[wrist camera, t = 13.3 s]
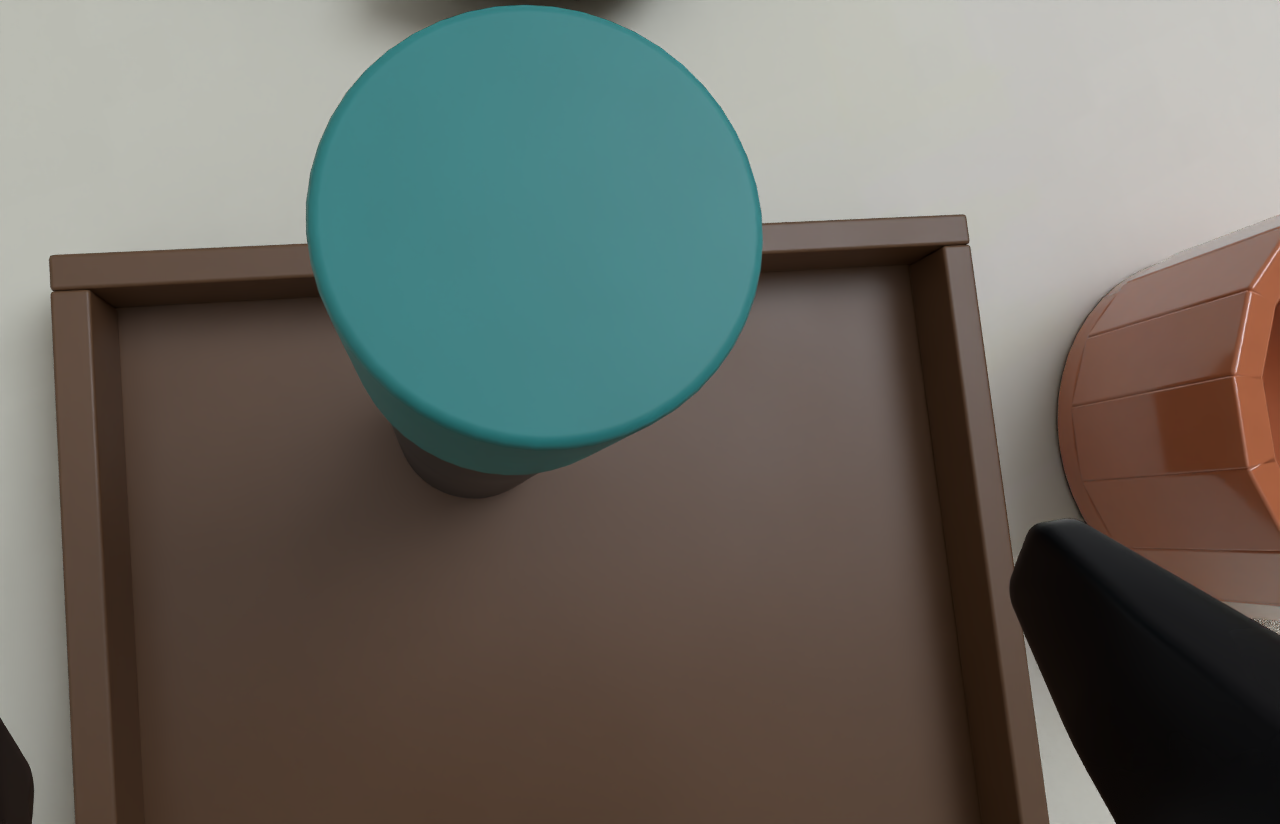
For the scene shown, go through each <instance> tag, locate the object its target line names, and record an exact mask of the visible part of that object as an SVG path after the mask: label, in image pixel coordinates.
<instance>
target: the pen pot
mask: <svg viewBox="0 0 1280 824" xmlns="http://www.w3.org/2000/svg"><path fill="white" fill-rule="evenodd" d="M1057 425H1058V437H1059V447H1060V452H1061V457H1062V462H1063V467H1064V471H1065V474H1066V477H1067V481H1068V484H1069V487H1070V490H1071V493H1072V495H1073V497H1074V499H1075V502H1076V504H1077V506H1078V508H1079V510H1080V512H1081V515H1082V516H1083V518H1084V520H1085V521H1086V523H1087V525H1089V526H1091V527H1093V528H1094V529H1096V530H1098V531H1100V532H1101V533H1103V534H1105V535H1107V536H1108V537H1110V538H1112V539H1114V540H1115V541H1117V542H1119V543H1120V544H1122V545H1124V546H1126V547H1127V548H1129V549H1131V550H1133V551H1134V552H1136V553H1138V554H1140V555H1141V556H1143V557H1145V558H1147V559H1148V560H1150V561H1152V562H1153V563H1155V564H1157V565H1159V566H1160V567H1162V568H1164V569H1166V570H1167V571H1169V572H1171V573H1173V574H1174V575H1176V576H1178V577H1180V578H1181V579H1183V580H1185V581H1186V582H1188V583H1190V584H1192V585H1193V586H1195V587H1197V588H1199V589H1200V590H1202V591H1204V592H1206V593H1207V594H1209V595H1211V596H1213V597H1214V598H1216V599H1218V600H1219V601H1221V602H1223V603H1225V604H1226V605H1228V606H1230V607H1232V608H1233V609H1235V610H1237V611H1239V612H1240V613H1242V614H1244V615H1246V616H1247V617H1249V618H1255V619H1264V620H1274V621H1280V215H1277V216H1274V217H1272V218H1269V219H1266V220H1264V221H1261V222H1259V223H1256V224H1253V225H1251V226H1248V227H1245V228H1243V229H1240V230H1237V231H1235V232H1232V233H1229V234H1227V235H1224V236H1221V237H1219V238H1216V239H1213V240H1211V241H1208V242H1206V243H1203V244H1200V245H1198V246H1195V247H1192V248H1190V249H1187V250H1184V251H1182V252H1179V253H1177V254H1175V255H1173V256H1171V257H1170V258H1168V259H1166V260H1164V261H1162V262H1160V263H1157V264H1155V265H1152V266H1150V267H1148V268H1146V269H1143V270H1141V271H1139V272H1137V273H1135V274H1133V275H1132V276H1130V277H1129V278H1127V279H1126V280H1124V281H1123V282H1121V283H1120V284H1118V285H1117V286H1116V287H1115V288H1114V289H1112V290H1111V291H1110V292H1109V293H1108V294H1107V295H1106V296H1105V297H1104V298H1103V299H1102V300H1101V301H1100V302H1099V303H1098V305H1097V306H1096V307H1095V308H1094V309H1093V311H1092V312H1091V313H1090V314H1089V316H1088V317H1087V319H1086V320H1085V322H1084V324H1083V325H1082V327H1081V329H1080V330H1079V332H1078V334H1077V335H1076V338H1075V340H1074V342H1073V345H1072V347H1071V349H1070V351H1069V354H1068V357H1067V360H1066V364H1065V367H1064V370H1063V374H1062V378H1061V384H1060V391H1059V397H1058V418H1057Z"/></svg>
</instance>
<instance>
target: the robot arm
mask: <svg viewBox="0 0 1280 824" xmlns="http://www.w3.org/2000/svg"><path fill="white" fill-rule="evenodd" d="M1009 593H1010V599H1011V603H1012V606H1013V609H1014V611H1015V613H1016V616H1017V618H1018V620H1019V623H1020V625H1021V627H1022V630H1023V632H1024V634H1025V637H1026V639H1027V641H1028V644H1029V646H1030V648H1031V651H1032V653H1033V655H1034V657H1035V660H1036V662H1037V664H1038V667H1039V669H1040V671H1041V674H1042V676H1043V678H1044V681H1045V683H1046V685H1047V688H1048V690H1049V692H1050V694H1051V697H1052V699H1053V701H1054V704H1055V706H1056V708H1057V711H1058V713H1059V715H1060V718H1061V720H1062V722H1063V724H1064V727H1065V729H1066V731H1067V733H1068V735H1069V737H1070V739H1071V741H1072V744H1073V746H1074V748H1075V749H1076V751H1077V753H1078V755H1079V757H1080V759H1081V761H1082V763H1083V765H1084V766H1085V768H1086V770H1087V772H1088V774H1089V776H1090V777H1091V779H1092V781H1093V783H1094V784H1095V786H1096V788H1097V790H1098V792H1099V793H1100V795H1101V797H1102V799H1103V801H1104V802H1105V804H1106V806H1107V808H1108V810H1109V811H1110V813H1111V815H1112V817H1113V818H1114V820H1115V822H1116V824H1280V635H1279V634H1277V633H1275V632H1273V631H1272V630H1270V629H1268V628H1266V627H1265V626H1263V625H1261V624H1259V623H1258V622H1256V621H1254V620H1252V619H1251V618H1249V617H1247V616H1246V615H1244V614H1242V613H1240V612H1239V611H1237V610H1235V609H1233V608H1232V607H1230V606H1228V605H1226V604H1225V603H1223V602H1221V601H1219V600H1218V599H1216V598H1214V597H1213V596H1211V595H1209V594H1207V593H1206V592H1204V591H1202V590H1200V589H1199V588H1197V587H1195V586H1193V585H1192V584H1190V583H1188V582H1186V581H1185V580H1183V579H1181V578H1180V577H1178V576H1176V575H1174V574H1173V573H1171V572H1169V571H1167V570H1166V569H1164V568H1162V567H1160V566H1159V565H1157V564H1155V563H1153V562H1152V561H1150V560H1148V559H1147V558H1145V557H1143V556H1141V555H1140V554H1138V553H1136V552H1134V551H1133V550H1131V549H1129V548H1127V547H1126V546H1124V545H1122V544H1120V543H1119V542H1117V541H1115V540H1114V539H1112V538H1110V537H1108V536H1107V535H1105V534H1103V533H1101V532H1100V531H1098V530H1096V529H1094V528H1093V527H1091V526H1089V525H1087V524H1086V523H1084V522H1082V521H1080V520H1076V519H1071V518H1067V519H1060V520H1054V521H1048V522H1043V523H1038V524H1036V525H1034V526H1033V527H1032V528H1031V529H1030V530H1029V532H1028V533H1027V535H1026V538H1025V541H1024V543H1023V546H1022V549H1021V551H1020V554H1019V557H1018V559H1017V562H1016V565H1015V567H1014V570H1013V573H1012V575H1011V578H1010V583H1009ZM33 801H34V783H33V777H32V772H31V769H30V767H29V764H28V762H27V761H26V759H25V757H24V756H23V754H22V752H21V751H20V749H19V748H18V746H17V744H16V743H15V741H14V739H13V738H12V736H11V735H10V733H9V731H8V730H7V728H6V726H5V725H4V723H3V721H2V720H1V718H0V824H32V815H33Z"/></svg>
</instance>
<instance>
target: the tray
mask: <svg viewBox="0 0 1280 824" xmlns="http://www.w3.org/2000/svg"><path fill="white" fill-rule="evenodd" d="M762 232H763V248H762V261H761V271H760V276H759V281H758V285H757V290H756V295H755V298H754V301H753V304H752V307H751V310H750V313H749V315H748V318H747V321H746V324H745V325H744V327H743V329H742V331H741V333H740V335H739V337H738V339H737V341H736V343H735V345H734V347H733V349H732V350H731V351H730V353H729V354H728V356H727V357H726V359H725V360H724V361H723V363H722V364H721V366H720V367H719V369H718V370H717V371H716V372H715V373H714V374H713V376H712V377H711V378H710V379H709V380H708V381H707V382H706V383H705V384H704V385H703V386H702V388H701V389H700V390H699V391H698V392H697V393H695V394H694V395H693V396H692V397H691V398H689V399H688V400H687V401H686V402H684V403H683V404H682V405H681V406H680V407H678V408H677V409H676V410H674V411H673V412H671V413H670V414H668V415H666V416H665V417H663V418H662V419H660V420H658V421H657V422H655V423H654V424H652V425H650V426H648V427H646V428H644V429H642V430H640V431H638V432H636V433H634V434H632V435H630V436H628V437H626V438H624V439H622V440H620V441H618V442H616V443H614V444H612V445H610V446H608V447H606V448H604V449H602V450H600V451H598V452H596V453H594V454H592V455H590V456H588V457H586V458H584V459H582V460H579V461H577V462H575V463H573V464H570V465H568V466H564V467H561V468H558V469H554V470H551V471H546V472H540V473H538V474H536V475H534V476H533V477H531V478H529V479H527V480H526V481H524V482H522V483H521V484H519V485H517V486H515V487H514V488H512V489H510V490H508V491H506V492H504V493H501V494H498V495H495V496H492V497H485V498H461V497H457V496H453V495H449V494H447V493H444V492H442V491H440V490H438V489H436V488H434V487H432V486H431V485H429V484H428V483H427V482H425V481H424V480H423V479H422V478H421V477H420V476H419V475H418V474H417V473H416V472H415V471H414V470H413V468H412V467H411V466H410V464H409V463H408V461H407V459H406V458H405V456H404V454H403V451H402V449H401V447H400V444H399V442H398V439H397V437H396V435H395V432H394V430H393V427H392V425H391V423H390V422H389V421H388V420H387V419H386V417H385V416H384V415H383V414H382V413H381V411H380V410H379V409H378V408H377V406H376V405H375V404H374V402H373V401H372V399H371V397H370V396H369V394H368V392H367V391H366V389H365V388H364V386H363V384H362V382H361V380H360V378H359V376H358V374H357V372H356V370H355V368H354V366H353V364H352V362H351V360H350V358H349V356H348V354H347V352H346V350H345V348H344V346H343V344H342V342H341V340H340V338H339V336H338V334H337V331H336V329H335V327H334V325H333V323H332V321H331V319H330V317H329V315H328V312H327V310H326V308H325V306H324V303H323V301H322V299H321V296H320V294H319V291H318V288H317V284H316V281H315V277H314V274H313V270H312V267H311V263H310V256H309V249H308V244H288V245H266V246H243V247H221V248H198V249H176V250H153V251H131V252H108V253H86V254H64V255H52V256H50V258H49V267H50V287H51V289H52V291H54V292H52V293H51V314H52V336H53V357H54V379H55V400H56V422H57V443H58V464H59V486H60V507H61V529H62V550H63V571H64V593H65V614H66V636H67V657H68V679H69V700H70V721H71V743H72V764H73V786H74V807H75V824H1049V817H1048V810H1047V802H1046V795H1045V788H1044V780H1043V773H1042V766H1041V759H1040V751H1039V744H1038V737H1037V729H1036V722H1035V715H1034V708H1033V700H1032V693H1031V686H1030V679H1029V671H1028V664H1027V657H1026V649H1025V642H1024V635H1023V630H1022V627H1021V625H1020V623H1019V620H1018V618H1017V616H1016V613H1015V611H1014V609H1013V606H1012V603H1011V599H1010V593H1009V583H1010V578H1011V575H1012V573H1013V570H1014V562H1013V555H1012V548H1011V540H1010V533H1009V526H1008V519H1007V511H1006V504H1005V497H1004V489H1003V482H1002V475H1001V468H1000V460H999V453H998V446H997V439H996V431H995V424H994V417H993V409H992V402H991V395H990V388H989V380H988V373H987V366H986V358H985V351H984V344H983V337H982V329H981V322H980V315H979V308H978V300H977V293H976V286H975V278H974V271H973V264H972V257H971V249H970V246H969V245H966V244H968V243H969V234H968V227H967V220H966V216H965V215H940V216H917V217H895V218H872V219H850V220H827V221H805V222H782V223H762Z"/></svg>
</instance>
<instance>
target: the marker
mask: <svg viewBox="0 0 1280 824" xmlns="http://www.w3.org/2000/svg"><path fill="white" fill-rule="evenodd" d="M306 235H307V242H308V249H309V256H310V263H311V267H312V270H313V274H314V277H315V281H316V284H317V288H318V291H319V294H320V296H321V299H322V301H323V303H324V306H325V308H326V310H327V312H328V315H329V317H330V319H331V321H332V323H333V325H334V327H335V329H336V331H337V334H338V336H339V338H340V340H341V342H342V344H343V346H344V348H345V350H346V352H347V354H348V356H349V358H350V360H351V362H352V364H353V366H354V368H355V370H356V372H357V374H358V376H359V378H360V380H361V382H362V384H363V386H364V388H365V389H366V391H367V392H368V394H369V396H370V397H371V399H372V401H373V402H374V404H375V405H376V406H377V408H378V409H379V410H380V411H381V413H382V414H383V415H384V416H385V417H386V419H387V420H388V421H389V422H390V423H391V425H392V427H393V430H394V432H395V435H396V437H397V439H398V442H399V444H400V447H401V449H402V451H403V454H404V456H405V458H406V459H407V461H408V463H409V464H410V466H411V467H412V468H413V470H414V471H415V472H416V473H417V474H418V475H419V476H420V477H421V478H422V479H423V480H424V481H425V482H427V483H428V484H429V485H431V486H432V487H434V488H436V489H438V490H440V491H442V492H444V493H447V494H449V495H453V496H457V497H461V498H485V497H492V496H495V495H498V494H501V493H504V492H506V491H508V490H510V489H512V488H514V487H515V486H517V485H519V484H521V483H522V482H524V481H526V480H527V479H529V478H531V477H533V476H534V475H536V474H538V473H540V472H546V471H551V470H554V469H558V468H561V467H564V466H568V465H570V464H573V463H575V462H577V461H579V460H582V459H584V458H586V457H588V456H590V455H592V454H594V453H596V452H598V451H600V450H602V449H604V448H606V447H608V446H610V445H612V444H614V443H616V442H618V441H620V440H622V439H624V438H626V437H628V436H630V435H632V434H634V433H636V432H638V431H640V430H642V429H644V428H646V427H648V426H650V425H652V424H654V423H655V422H657V421H658V420H660V419H662V418H663V417H665V416H666V415H668V414H670V413H671V412H673V411H674V410H676V409H677V408H678V407H680V406H681V405H682V404H683V403H684V402H686V401H687V400H688V399H689V398H691V397H692V396H693V395H694V394H695V393H697V392H698V391H699V390H700V389H701V388H702V386H703V385H704V384H705V383H706V382H707V381H708V380H709V379H710V378H711V377H712V376H713V374H714V373H715V372H716V371H717V370H718V369H719V367H720V366H721V364H722V363H723V361H724V360H725V359H726V357H727V356H728V354H729V353H730V351H731V350H732V349H733V347H734V345H735V343H736V341H737V339H738V337H739V335H740V333H741V331H742V329H743V327H744V325H745V324H746V321H747V318H748V315H749V313H750V310H751V307H752V304H753V301H754V298H755V295H756V290H757V285H758V281H759V276H760V271H761V261H762V248H763V232H762V214H761V208H760V203H759V197H758V192H757V186H756V183H755V180H754V177H753V173H752V170H751V167H750V164H749V161H748V158H747V155H746V153H745V151H744V149H743V146H742V144H741V142H740V140H739V138H738V136H737V133H736V131H735V130H734V128H733V126H732V125H731V123H730V121H729V120H728V118H727V117H726V115H725V113H724V112H723V110H722V108H721V107H720V106H719V104H718V103H717V102H716V101H715V99H714V98H713V97H712V96H711V94H710V93H709V92H708V91H707V89H706V88H705V87H704V86H703V84H702V83H701V82H699V81H698V80H697V79H696V78H695V77H694V76H693V75H692V74H691V73H690V72H689V71H688V70H687V69H686V68H685V67H684V66H683V65H682V64H681V63H680V62H678V61H677V60H676V59H674V58H673V57H672V56H671V55H669V54H668V53H667V52H666V51H664V50H663V49H662V48H660V47H659V46H657V45H655V44H654V43H652V42H651V41H649V40H647V39H646V38H644V37H642V36H641V35H639V34H637V33H636V32H633V31H631V30H629V29H627V28H625V27H622V26H620V25H618V24H616V23H614V22H611V21H609V20H606V19H603V18H599V17H596V16H593V15H590V14H587V13H584V12H580V11H574V10H569V9H564V8H558V7H552V6H536V5H513V6H496V7H491V8H485V9H480V10H475V11H470V12H466V13H463V14H460V15H457V16H454V17H451V18H447V19H444V20H441V21H439V22H437V23H435V24H433V25H431V26H429V27H426V28H424V29H422V30H420V31H418V32H416V33H414V34H412V35H411V36H409V37H408V38H406V39H405V40H403V41H402V42H400V43H399V44H397V45H396V46H394V47H393V48H391V49H390V50H388V51H387V52H386V53H385V54H384V55H382V56H381V57H380V58H379V59H378V60H377V61H376V62H374V63H373V64H372V65H371V66H370V67H369V68H368V69H367V70H365V72H364V73H363V74H362V75H361V76H360V77H359V79H358V80H357V81H356V82H355V83H354V84H353V86H352V87H351V88H350V89H349V90H348V91H347V93H346V94H345V96H344V97H343V99H342V101H341V102H340V104H339V105H338V107H337V108H336V110H335V112H334V113H333V115H332V116H331V118H330V120H329V122H328V125H327V127H326V129H325V131H324V133H323V136H322V138H321V140H320V142H319V145H318V148H317V152H316V155H315V159H314V162H313V165H312V169H311V172H310V179H309V186H308V193H307V200H306Z"/></svg>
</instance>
